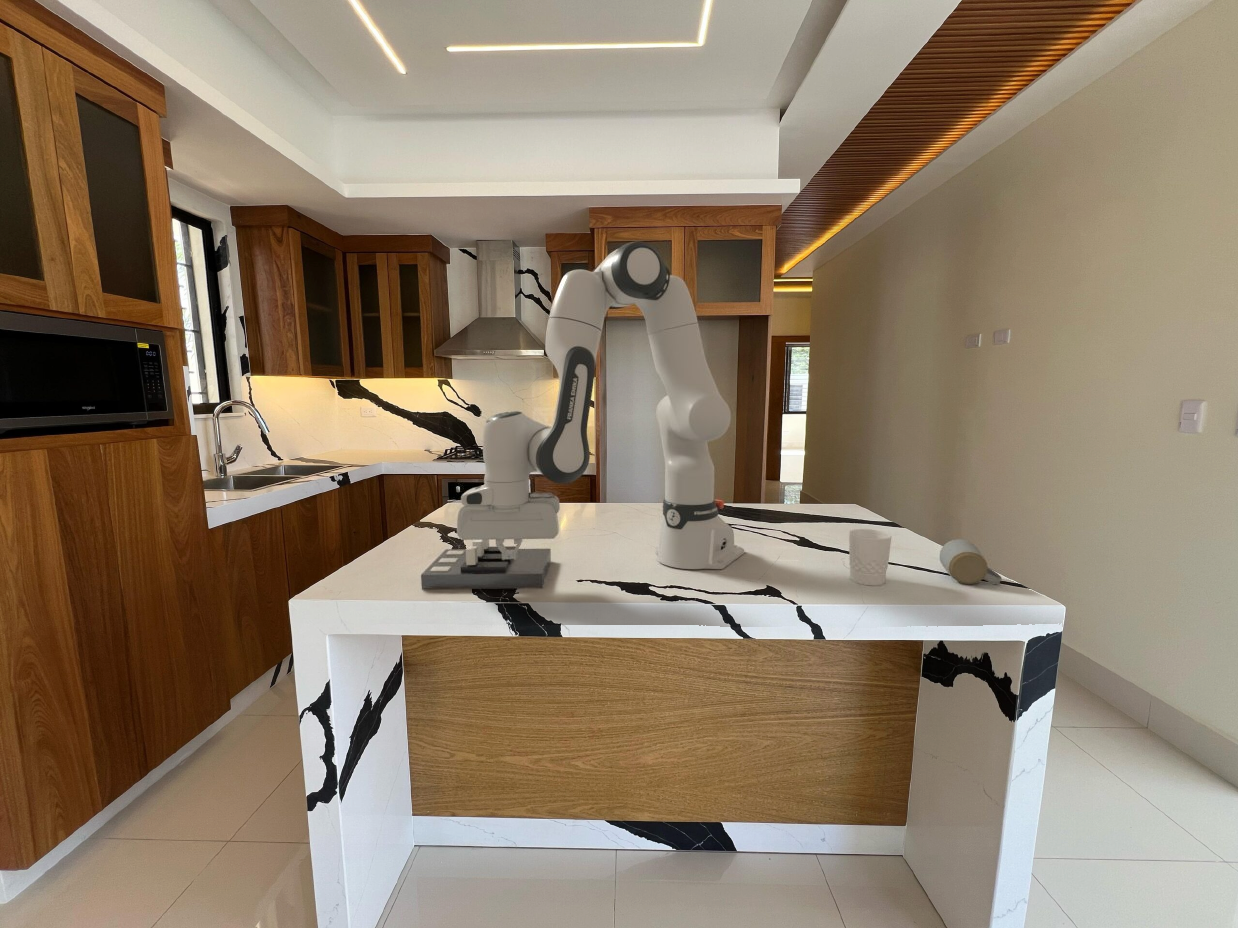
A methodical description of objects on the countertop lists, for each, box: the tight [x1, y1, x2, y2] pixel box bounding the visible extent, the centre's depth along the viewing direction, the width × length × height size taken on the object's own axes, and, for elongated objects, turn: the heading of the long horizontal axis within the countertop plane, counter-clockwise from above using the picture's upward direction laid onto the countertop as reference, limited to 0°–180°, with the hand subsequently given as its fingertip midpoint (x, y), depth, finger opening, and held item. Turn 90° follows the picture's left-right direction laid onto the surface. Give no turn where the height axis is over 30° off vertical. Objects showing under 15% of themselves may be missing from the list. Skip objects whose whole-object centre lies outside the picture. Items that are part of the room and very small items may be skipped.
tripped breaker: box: [465, 545, 478, 565], centre depth 112 cm, size 2×2×3 cm
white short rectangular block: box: [483, 540, 490, 549], centre depth 123 cm, size 2×2×3 cm
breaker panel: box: [420, 545, 552, 590], centre depth 119 cm, size 24×17×4 cm
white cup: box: [848, 528, 892, 587], centre depth 114 cm, size 8×8×10 cm
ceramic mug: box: [939, 538, 1003, 585], centre depth 114 cm, size 11×8×8 cm
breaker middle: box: [472, 540, 484, 557], centre depth 118 cm, size 2×2×3 cm
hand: (509, 559), depth 113 cm, fingers closed
